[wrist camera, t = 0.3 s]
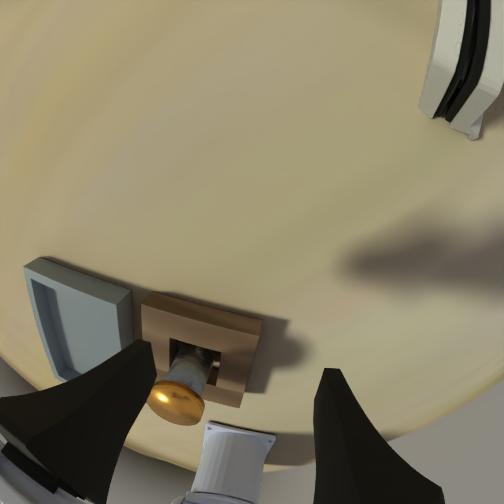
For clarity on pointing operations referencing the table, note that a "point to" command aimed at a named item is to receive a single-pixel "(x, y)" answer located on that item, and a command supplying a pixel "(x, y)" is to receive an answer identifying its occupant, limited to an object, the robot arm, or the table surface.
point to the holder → (202, 342)
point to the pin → (183, 386)
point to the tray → (77, 317)
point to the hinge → (465, 63)
